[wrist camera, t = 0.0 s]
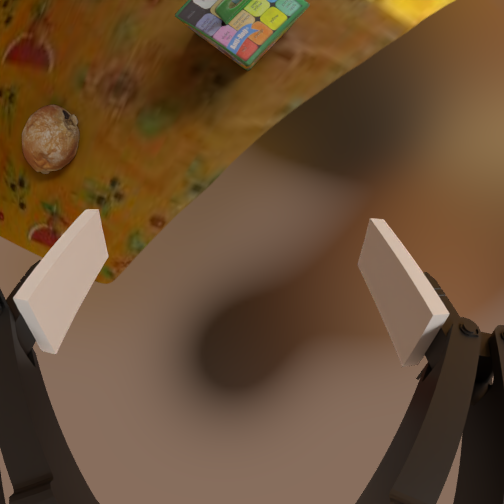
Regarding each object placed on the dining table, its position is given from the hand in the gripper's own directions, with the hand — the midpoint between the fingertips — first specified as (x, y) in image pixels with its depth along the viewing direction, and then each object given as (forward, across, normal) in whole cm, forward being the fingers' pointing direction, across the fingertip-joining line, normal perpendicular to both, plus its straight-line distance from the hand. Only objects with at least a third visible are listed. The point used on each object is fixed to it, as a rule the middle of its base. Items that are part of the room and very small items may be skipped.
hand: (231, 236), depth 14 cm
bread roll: (+28, -28, 0) cm, 40 cm away
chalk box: (+28, 0, +14) cm, 32 cm away
